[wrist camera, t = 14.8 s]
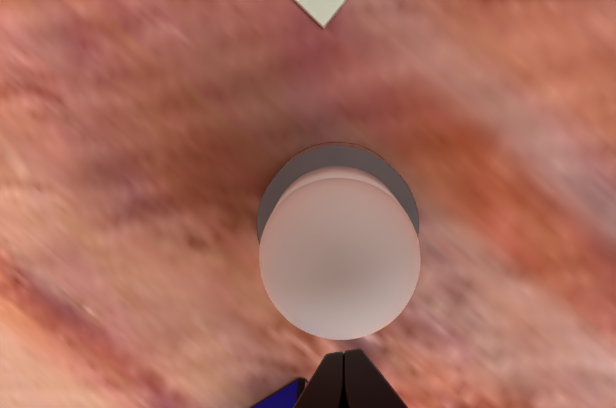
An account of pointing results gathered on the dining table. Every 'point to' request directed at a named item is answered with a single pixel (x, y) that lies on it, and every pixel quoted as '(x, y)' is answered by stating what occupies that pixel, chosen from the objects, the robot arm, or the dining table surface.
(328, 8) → the frame
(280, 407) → the puzzle cube
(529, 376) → the dining table surface
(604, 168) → the dining table surface
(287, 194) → the dome
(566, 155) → the dining table surface
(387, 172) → the dome base
